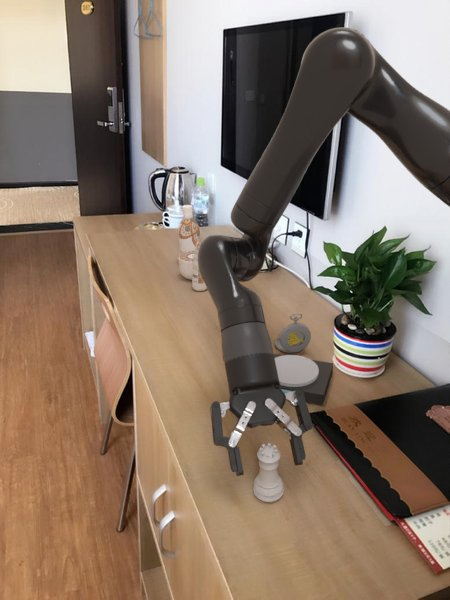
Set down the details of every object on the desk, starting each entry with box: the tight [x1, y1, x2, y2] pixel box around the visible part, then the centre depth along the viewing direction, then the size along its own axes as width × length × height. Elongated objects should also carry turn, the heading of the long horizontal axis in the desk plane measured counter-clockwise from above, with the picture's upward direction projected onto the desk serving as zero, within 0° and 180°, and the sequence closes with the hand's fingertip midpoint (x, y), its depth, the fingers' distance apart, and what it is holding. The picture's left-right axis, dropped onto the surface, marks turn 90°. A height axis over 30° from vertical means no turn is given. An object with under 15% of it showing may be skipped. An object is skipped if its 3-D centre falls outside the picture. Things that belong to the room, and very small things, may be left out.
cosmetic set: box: [177, 204, 208, 292], centre depth 143 cm, size 25×9×19 cm, turn 12°
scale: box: [274, 353, 334, 406], centre depth 97 cm, size 14×11×3 cm
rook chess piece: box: [252, 442, 285, 503], centre depth 71 cm, size 4×4×8 cm
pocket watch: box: [274, 313, 312, 354], centre depth 107 cm, size 8×8×10 cm
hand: (270, 470), depth 70 cm, fingers open, 8 cm apart
